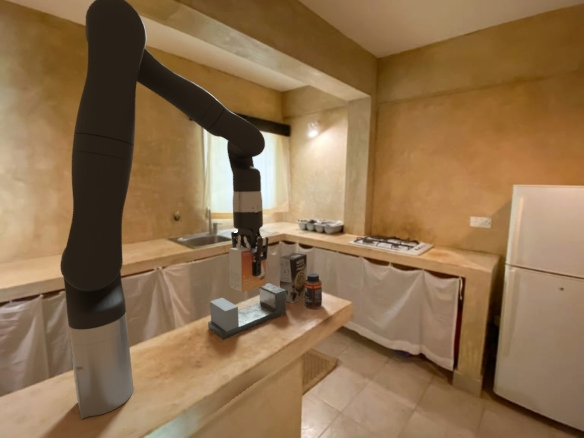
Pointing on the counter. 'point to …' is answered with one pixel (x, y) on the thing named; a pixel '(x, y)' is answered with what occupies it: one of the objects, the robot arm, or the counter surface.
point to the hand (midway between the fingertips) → (249, 272)
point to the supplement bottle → (313, 291)
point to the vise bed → (256, 311)
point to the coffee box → (293, 276)
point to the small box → (244, 270)
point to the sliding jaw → (224, 314)
